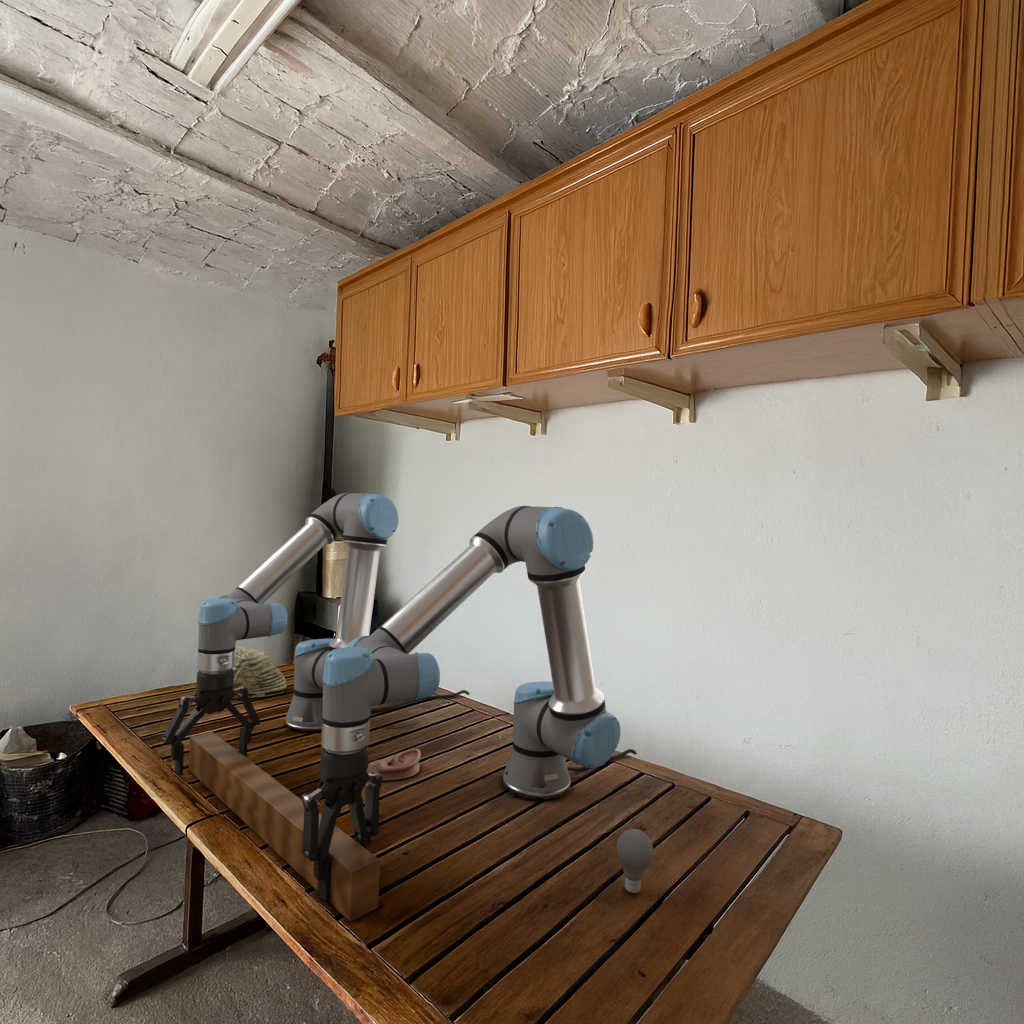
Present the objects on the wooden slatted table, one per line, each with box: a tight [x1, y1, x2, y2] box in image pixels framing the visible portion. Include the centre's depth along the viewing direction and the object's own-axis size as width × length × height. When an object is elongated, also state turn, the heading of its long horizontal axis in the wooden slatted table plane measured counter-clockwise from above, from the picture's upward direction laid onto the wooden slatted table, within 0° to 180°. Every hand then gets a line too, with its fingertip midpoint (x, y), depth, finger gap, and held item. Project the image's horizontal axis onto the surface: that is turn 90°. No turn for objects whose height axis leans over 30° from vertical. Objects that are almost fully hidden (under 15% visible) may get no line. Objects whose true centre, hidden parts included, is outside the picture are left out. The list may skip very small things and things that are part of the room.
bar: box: [188, 731, 381, 923], centre depth 121 cm, size 69×5×8 cm, turn 45°
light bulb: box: [615, 828, 654, 894], centre depth 106 cm, size 6×6×10 cm
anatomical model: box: [367, 748, 422, 781], centre depth 147 cm, size 13×4×12 cm
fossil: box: [232, 646, 288, 699], centre depth 198 cm, size 9×18×15 cm, turn 132°
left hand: (211, 765), depth 140 cm, fingers open, 13 cm apart
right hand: (339, 889), depth 102 cm, fingers closed on bar, 5 cm apart
